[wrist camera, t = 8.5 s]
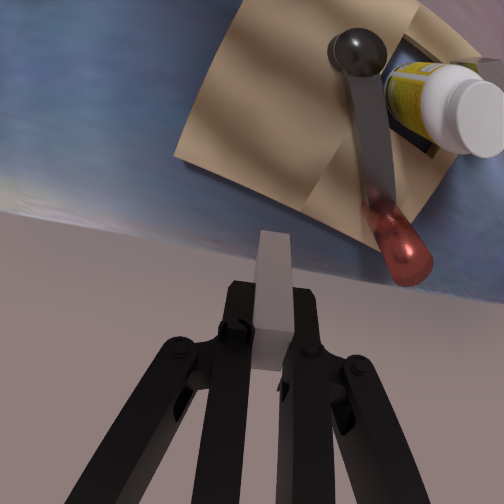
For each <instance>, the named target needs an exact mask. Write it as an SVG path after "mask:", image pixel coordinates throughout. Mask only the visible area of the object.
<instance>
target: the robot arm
mask: <svg viewBox="0 0 504 504" xmlns="http://www.w3.org/2000/svg"><path fill="white" fill-rule="evenodd" d="M282 366H283V368H282ZM251 368H252V369H262V370H271V371H281V369H283V370H282V372H283V373H282V377H281V380H280V383H279V385H278V388H277V391H280V403H279V405H280V406H279V437H278V464H277V485H276V504H335V475H334V474H335V471H334V449H333V431H332V427H333V430H334V433H335V436H336V439H337V442H338V445H339V448H340V451H341V455H342V458H343V461H344V464H345V467H346V470H347V473H348V476H349V479H350V482H351V486H352V489H353V492H354V495H355V498H356V502H357V504H431V503H430V500H429V498H428V495H427V492H426V489H425V487H424V484H423V481H422V479H421V476H420V474H419V471H418V468H417V466H416V463H415V461H414V458H413V455H412V453H411V451H410V448H409V446H408V443H407V441H406V439H405V436H404V433H403V431H402V429H401V427H400V424H399V422H398V419H397V417H396V415H395V412H394V410H393V408H392V405H391V403H390V401H389V399H388V396H387V394H386V392H385V390H384V388H383V385H382V383H381V381H380V379H379V377H378V374H377V372H376V370H375V368H374V366H373V364H372V363H371V361H370V360H369V359H367V358H366V357H364V356H361V355H352V356H349V357H348V358H347V359H343V358H341V357H338V356H335V355H333V354H331V353H329V352H328V351H326V349H325V348H324V346H323V345H322V344H321V341H320V334H319V325H318V317H317V309H316V299H315V296H314V295H313V293H312V291H311V290H310V289H304V288H294V287H293V286H292V267H291V250H290V234H286V233H279V232H272V231H264V230H261V234H260V241H259V247H258V253H257V260H256V267H255V274H254V283H250V282H243V281H233V282H232V284H231V285H230V286H229V287H228V292H227V298H226V303H225V309H224V314H223V319H222V321H221V322H220V325H219V327H218V335H217V336H216V337H215V338H214V339H212V340H209V341H206V342H200V343H194V342H193V341H192V340H190V339H188V338H186V337H182V336H179V337H173V338H171V339H168V340H167V341H166V342H165V343H164V344H163V346H162V348H161V349H160V351H159V352H158V354H157V355H156V357H155V358H154V360H153V361H152V363H151V364H150V366H149V368H148V369H147V371H146V373H145V374H144V375H143V377H142V378H141V380H140V382H139V383H138V385H137V386H136V388H135V390H134V391H133V393H132V394H131V396H130V397H129V399H128V400H127V402H126V404H125V405H124V407H123V408H122V410H121V411H120V413H119V415H118V416H117V418H116V419H115V421H114V423H113V424H112V426H111V428H110V429H109V431H108V432H107V434H106V436H105V437H104V439H103V440H102V442H101V444H100V445H99V447H98V448H97V450H96V452H95V453H94V455H93V457H92V458H91V460H90V462H89V463H88V465H87V466H86V468H85V470H84V471H83V473H82V475H81V477H80V478H79V480H78V481H77V483H76V485H75V487H74V488H73V490H72V491H71V493H70V495H69V497H68V498H67V500H66V502H65V503H64V504H139V502H140V500H141V498H142V496H143V494H144V492H145V490H146V489H147V487H148V485H149V483H150V481H151V479H152V477H153V476H154V474H155V471H156V470H157V468H158V466H159V464H160V462H161V460H162V458H163V456H164V454H165V452H166V450H167V449H168V447H169V445H170V443H171V441H172V439H173V437H174V435H175V433H176V431H177V429H178V427H179V425H180V423H181V421H182V419H183V417H184V416H185V414H186V412H187V410H188V408H189V406H190V404H191V402H192V400H193V398H194V396H195V394H196V392H197V390H202V389H209V393H208V399H207V405H206V411H205V418H204V424H203V430H202V436H201V442H200V449H199V455H198V461H197V468H196V474H195V480H194V487H193V494H192V500H191V504H239V498H240V487H241V476H242V465H243V452H244V442H245V431H246V419H247V407H248V394H249V383H250V371H251Z"/></svg>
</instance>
